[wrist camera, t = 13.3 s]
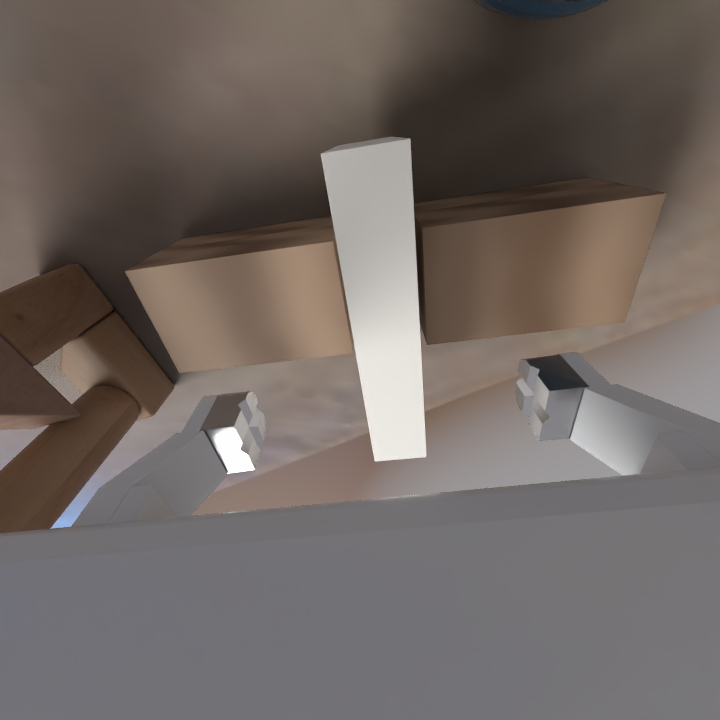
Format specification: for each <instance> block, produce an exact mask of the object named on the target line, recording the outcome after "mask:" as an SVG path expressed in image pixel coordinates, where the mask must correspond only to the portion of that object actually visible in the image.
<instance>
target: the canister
mask: <svg viewBox="0 0 720 720" xmlns="http://www.w3.org/2000/svg"><path fill="white" fill-rule="evenodd" d="M474 1H476V2H477V3H479V4H480V5H482V6H484V7H485V8H487V9H490V10H492V11H494V12H496V13H499V14H502V15H505V16H510V17H515V18H524V19H551V18H559V17H564V16H569V15H573V14H576V13H579V12H583V11H586V10H588V9H591V8H593V7H595V6H598V5H600V4H602V3H604V2H606V1H608V0H474Z"/></svg>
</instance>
